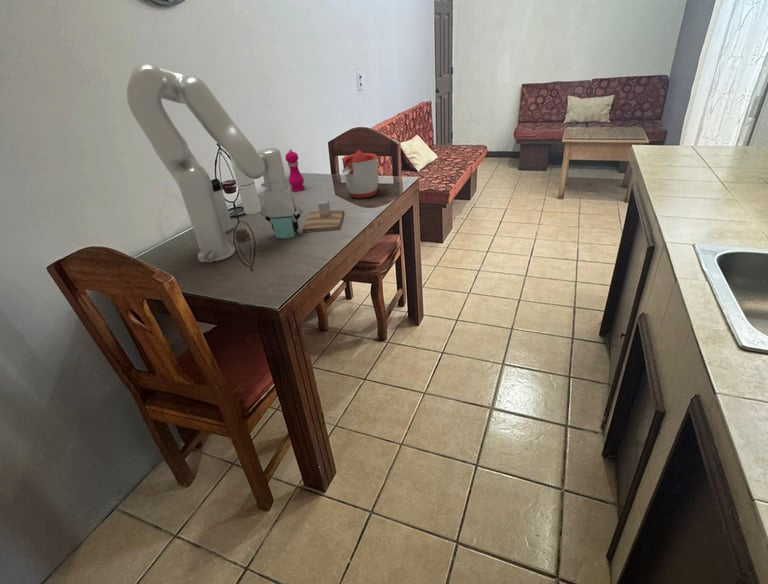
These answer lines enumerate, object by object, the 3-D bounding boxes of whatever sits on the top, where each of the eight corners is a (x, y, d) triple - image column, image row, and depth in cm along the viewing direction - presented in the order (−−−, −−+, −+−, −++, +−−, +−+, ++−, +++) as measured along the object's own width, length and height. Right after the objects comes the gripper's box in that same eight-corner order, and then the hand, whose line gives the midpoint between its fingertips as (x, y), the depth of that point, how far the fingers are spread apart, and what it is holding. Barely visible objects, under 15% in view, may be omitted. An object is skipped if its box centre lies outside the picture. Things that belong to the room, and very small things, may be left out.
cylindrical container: (256, 214, 182) (242, 155, 169) (242, 214, 184) (226, 156, 171) (264, 208, 188) (250, 151, 175) (249, 208, 190) (234, 151, 177)
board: (339, 229, 158) (339, 226, 158) (303, 232, 159) (302, 228, 158) (344, 213, 174) (343, 209, 173) (311, 215, 175) (310, 212, 174)
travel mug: (237, 227, 170) (223, 178, 160) (227, 234, 165) (212, 183, 154) (224, 227, 172) (209, 178, 161) (214, 233, 166) (198, 183, 156)
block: (329, 216, 167) (327, 203, 165) (320, 217, 168) (318, 203, 165) (330, 213, 171) (328, 200, 168) (321, 213, 171) (319, 200, 168)
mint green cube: (294, 237, 156) (290, 218, 152) (276, 238, 156) (271, 219, 152) (297, 230, 161) (293, 211, 158) (280, 231, 162) (276, 213, 158)
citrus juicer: (336, 197, 192) (330, 153, 182) (364, 187, 202) (359, 144, 192) (359, 203, 182) (354, 156, 172) (387, 192, 192) (383, 147, 182)
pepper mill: (288, 192, 206) (279, 150, 196) (295, 187, 212) (287, 146, 202) (301, 192, 204) (293, 150, 194) (307, 187, 210) (300, 146, 200)
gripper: (249, 190, 146) (261, 237, 155) (298, 186, 145) (307, 233, 154) (255, 183, 153) (266, 229, 162) (302, 180, 152) (310, 226, 161)
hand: (286, 231), depth 158 cm, fingers closed on mint green cube, 6 cm apart
